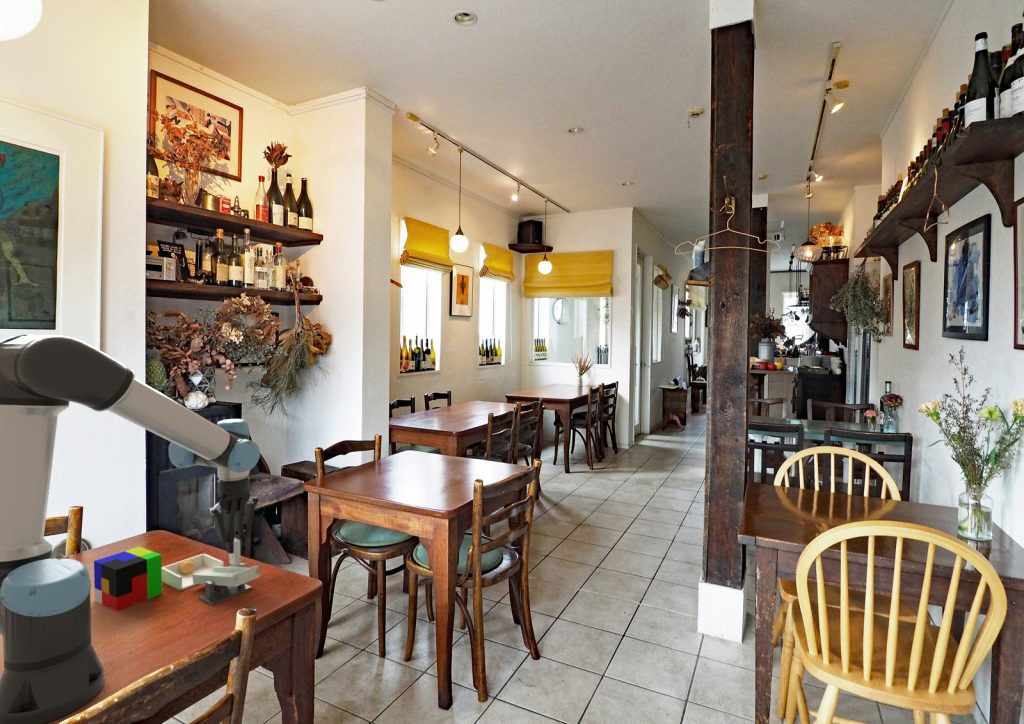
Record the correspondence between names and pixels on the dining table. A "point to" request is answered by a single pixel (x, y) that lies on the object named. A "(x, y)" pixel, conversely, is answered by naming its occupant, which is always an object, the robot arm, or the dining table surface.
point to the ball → (187, 567)
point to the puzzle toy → (127, 578)
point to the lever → (228, 575)
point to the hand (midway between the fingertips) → (234, 563)
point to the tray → (184, 581)
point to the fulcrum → (221, 592)
